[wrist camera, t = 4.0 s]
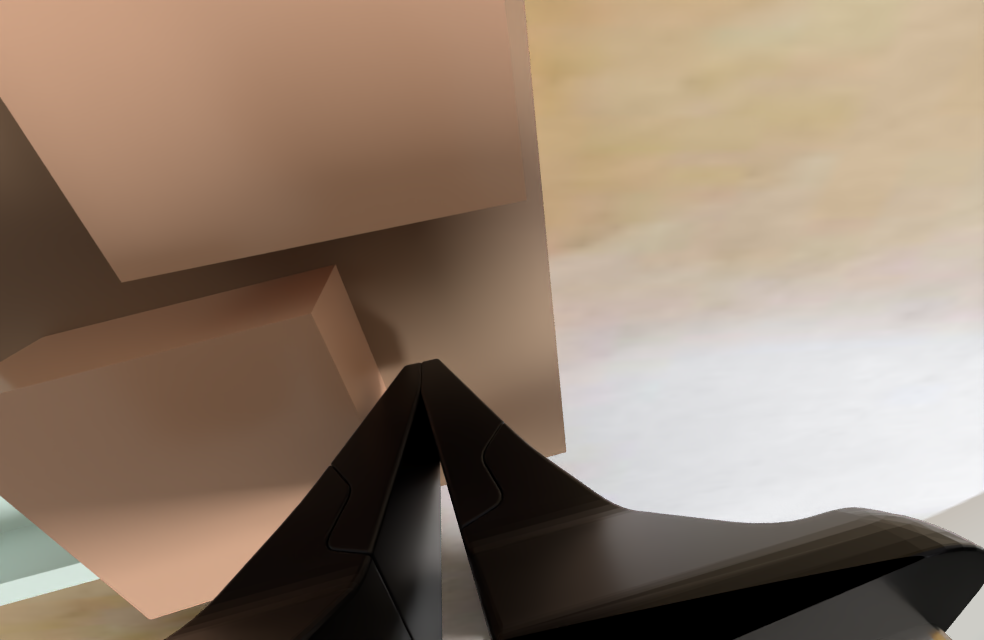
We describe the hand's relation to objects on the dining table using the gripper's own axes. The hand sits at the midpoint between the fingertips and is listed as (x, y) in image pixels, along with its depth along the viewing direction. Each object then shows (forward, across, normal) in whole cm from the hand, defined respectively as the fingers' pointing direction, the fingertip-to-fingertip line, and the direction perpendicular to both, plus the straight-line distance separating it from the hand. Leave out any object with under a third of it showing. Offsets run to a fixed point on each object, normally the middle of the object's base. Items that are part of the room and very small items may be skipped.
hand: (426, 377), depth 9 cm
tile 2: (+1, +4, 0) cm, 4 cm away
